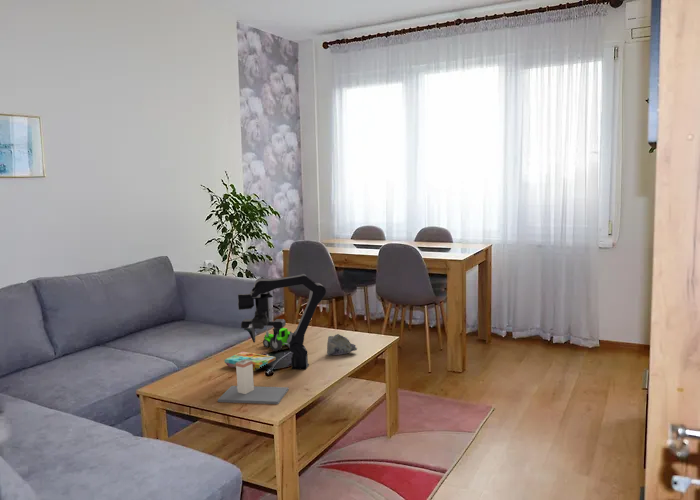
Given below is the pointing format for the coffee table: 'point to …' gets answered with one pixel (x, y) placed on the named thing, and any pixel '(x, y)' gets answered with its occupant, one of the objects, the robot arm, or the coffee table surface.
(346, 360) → the coffee table surface
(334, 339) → the mineral rock
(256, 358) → the puzzle game
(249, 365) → the card box
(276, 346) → the toy tractor
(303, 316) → the robot arm
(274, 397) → the mat
